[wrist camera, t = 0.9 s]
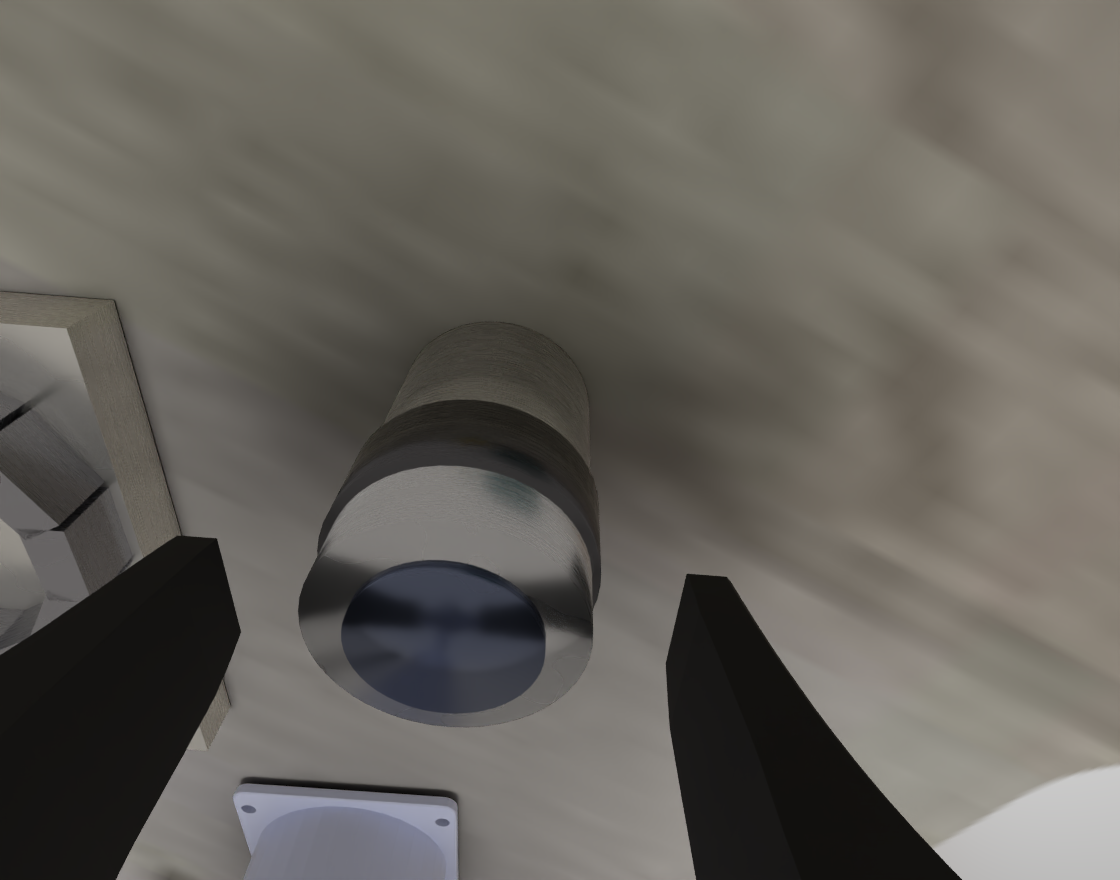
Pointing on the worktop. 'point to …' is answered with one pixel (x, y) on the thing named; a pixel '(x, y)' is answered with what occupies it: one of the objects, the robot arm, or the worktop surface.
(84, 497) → the octagonal collar plate
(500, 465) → the lens
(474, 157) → the worktop surface
